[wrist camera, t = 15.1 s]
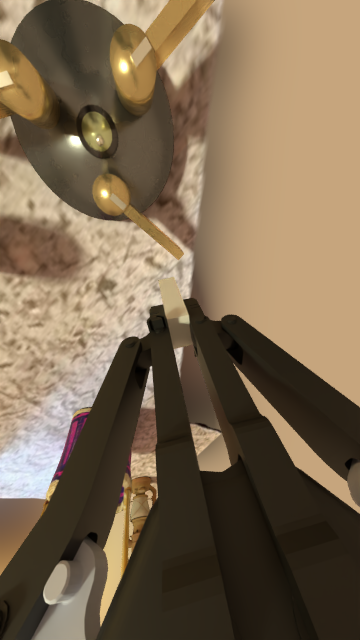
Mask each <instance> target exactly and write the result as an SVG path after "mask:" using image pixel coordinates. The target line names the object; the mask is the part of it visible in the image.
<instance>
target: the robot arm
mask: <svg viewBox="0 0 360 640" xmlns="http://www.w3.org/2000/svg"><path fill="white" fill-rule="evenodd" d="M158 281H159V286H160V291H161V296H162V301H163V305H158V306H153V307H151V309H150V318H149V319H148V320H147V325H148V328H149V331H150V333H149V334H148V335H147V336H145V337H143V338H141V339H139V338H138V337H128V338H126V339H125V340H123V341H122V342H121V344H120V346H119V348H118V350H117V353H116V355H115V357H114V359H113V362H112V364H111V366H110V368H109V370H108V373H107V375H106V377H105V379H104V381H103V384H102V386H101V388H100V390H99V393H98V395H97V397H96V399H95V401H94V404H93V406H92V408H91V410H90V412H89V415H88V417H87V419H86V421H85V424H84V426H83V428H82V430H81V432H80V435H79V437H78V439H77V441H76V443H75V446H74V448H73V450H72V452H71V455H70V457H69V459H68V461H67V463H66V466H65V468H64V470H63V472H62V474H61V477H60V479H59V481H58V483H57V486H56V488H55V490H54V492H53V494H52V497H51V499H50V501H49V503H48V505H47V508H46V510H45V512H44V513H43V515H42V516H41V517H40V519H39V520H38V522H37V523H36V525H35V526H34V528H33V529H32V531H31V532H30V533H29V535H28V537H27V538H26V539H25V541H24V542H23V544H22V545H21V547H20V548H19V550H18V551H17V552H16V554H15V555H14V557H13V558H12V560H11V561H10V562H9V564H8V565H7V567H6V568H5V570H4V571H3V573H2V574H1V576H0V640H360V514H359V513H357V512H356V511H355V510H354V509H352V508H351V507H350V506H348V505H347V504H346V503H344V502H343V501H342V500H340V499H339V498H338V497H336V496H335V495H334V494H332V493H331V492H330V491H328V490H327V489H326V488H324V487H323V486H322V485H320V484H319V483H318V482H316V481H315V480H314V479H312V478H311V477H310V476H308V475H307V474H306V473H304V472H303V471H302V470H300V469H299V468H297V467H295V465H294V463H293V461H292V460H291V458H290V456H289V455H288V453H287V451H286V449H285V447H284V445H283V444H282V442H281V440H280V438H279V436H278V435H277V433H276V431H275V429H274V428H273V426H272V424H271V423H270V421H269V420H268V419H267V418H266V417H265V416H262V415H261V414H260V413H259V411H258V409H257V407H256V406H255V404H254V402H253V400H252V398H251V396H250V394H249V392H248V390H247V389H246V387H245V385H244V383H243V381H242V379H241V378H240V376H239V374H238V372H237V370H236V368H235V366H236V367H237V368H238V369H239V370H240V371H241V372H242V373H243V374H244V375H245V376H246V377H247V379H248V380H249V381H250V382H251V383H252V384H253V385H254V386H255V387H256V388H257V390H258V391H259V392H260V393H261V394H262V395H263V396H264V397H265V398H266V399H267V401H268V402H269V403H270V404H271V405H272V406H273V407H274V408H275V409H276V410H277V411H278V413H279V414H280V415H281V416H282V417H283V418H284V419H285V420H286V421H287V422H288V424H289V425H290V426H291V427H292V428H293V429H294V430H295V431H296V432H297V433H298V435H299V436H300V437H301V438H302V439H303V440H304V441H305V442H306V443H307V444H308V445H309V447H310V448H311V449H312V450H313V451H314V452H315V453H316V454H317V455H318V456H319V457H320V458H321V459H322V460H323V461H324V462H325V463H326V464H327V465H328V466H330V468H332V469H333V470H334V471H335V472H336V473H337V474H338V475H340V476H341V477H342V478H343V479H345V480H346V481H347V483H348V487H349V490H350V492H351V496H352V498H353V500H354V502H355V503H356V504H357V505H358V506H359V507H360V407H359V406H357V405H356V404H355V403H353V402H352V401H351V400H349V399H348V398H347V397H345V396H344V395H342V394H341V393H340V392H339V391H337V390H336V389H335V388H333V387H332V386H330V385H329V384H328V383H327V382H325V381H324V380H323V379H321V378H320V377H319V376H317V375H316V374H315V373H313V372H312V371H311V370H309V369H308V368H307V367H305V366H304V365H303V364H301V363H300V362H299V361H297V360H296V359H295V358H293V357H292V356H291V355H289V354H288V353H287V352H285V351H284V350H283V349H281V348H280V347H279V346H277V345H276V344H275V343H273V342H272V341H271V340H270V339H268V338H267V337H266V336H264V335H263V334H261V333H260V332H259V331H257V330H256V329H255V328H254V327H252V326H251V325H249V324H248V323H247V322H246V321H244V320H243V319H242V318H240V317H239V316H237V315H226V316H224V317H223V318H222V319H221V321H212V320H210V319H209V318H208V317H206V316H205V315H204V313H203V311H202V309H201V307H200V306H199V304H198V302H197V300H196V299H194V298H189V299H184V300H183V299H182V296H181V294H180V291H179V289H178V286H177V284H176V281H175V279H174V277H172V278H167V279H162V280H158ZM192 342H193V343H192ZM192 344H193V345H194V353H195V357H197V360H198V363H199V366H200V369H201V371H202V375H203V378H204V381H205V384H206V387H207V389H208V393H209V395H210V399H211V402H212V404H213V407H214V411H215V413H216V416H217V419H218V422H219V425H220V428H221V431H222V434H223V437H224V440H225V443H226V446H227V449H228V454H229V459H230V463H231V467H229V468H228V469H226V470H225V471H223V472H211V471H200V470H199V465H198V461H197V456H196V451H195V446H194V442H193V437H192V432H191V428H190V423H189V418H188V414H187V410H186V405H185V400H184V396H183V391H182V386H181V381H180V377H179V372H178V367H177V363H176V358H175V353H174V349H176V348H180V347H184V346H189V345H192ZM233 363H234V364H235V366H234V364H233ZM150 366H152V371H153V385H154V399H155V413H156V427H157V444H156V470H157V487H158V498H157V499H156V501H155V502H154V504H153V506H152V508H151V510H150V511H149V513H148V516H147V518H146V520H145V523H144V525H143V528H142V530H141V532H140V535H139V537H138V540H137V542H136V544H135V547H134V549H133V552H132V554H131V557H130V559H129V561H128V563H127V566H126V568H125V571H124V573H123V575H122V578H121V581H120V583H119V585H118V587H117V590H116V592H115V595H114V597H113V599H112V602H111V604H110V607H109V609H108V611H107V614H106V616H105V619H104V621H103V623H102V626H101V627H100V606H101V599H102V595H103V591H104V588H105V584H106V580H107V572H108V564H107V558H106V554H105V552H104V551H103V549H104V547H105V544H106V541H107V539H108V535H109V533H110V530H111V527H112V524H113V521H114V517H115V514H116V510H117V506H118V502H119V498H120V494H121V489H122V485H123V481H124V477H125V472H126V468H127V464H128V460H129V455H130V451H131V447H132V443H133V438H134V434H135V430H136V425H137V421H138V417H139V413H140V408H141V404H142V400H143V396H144V391H145V387H146V383H147V379H148V374H149V370H150Z"/></svg>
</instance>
